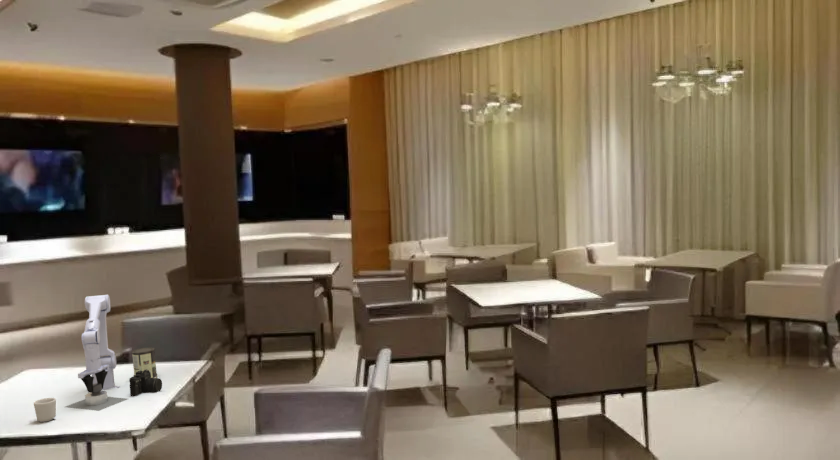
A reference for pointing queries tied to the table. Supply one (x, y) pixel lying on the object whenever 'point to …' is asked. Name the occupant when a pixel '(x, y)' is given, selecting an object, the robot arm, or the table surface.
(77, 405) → the mat
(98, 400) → the beige donut ring
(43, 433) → the table surface
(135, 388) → the camera
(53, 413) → the cup
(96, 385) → the dark bulb knob
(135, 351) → the coffee can
